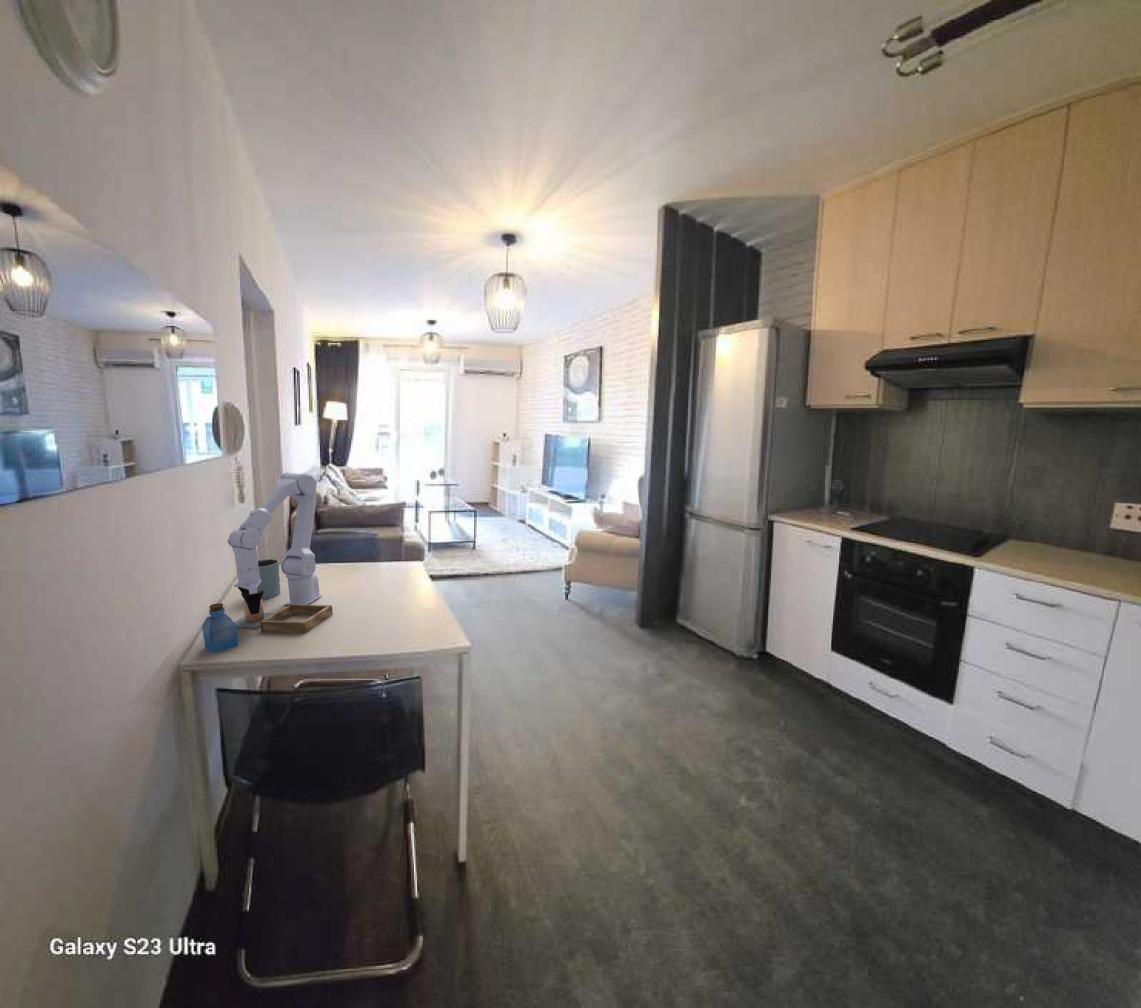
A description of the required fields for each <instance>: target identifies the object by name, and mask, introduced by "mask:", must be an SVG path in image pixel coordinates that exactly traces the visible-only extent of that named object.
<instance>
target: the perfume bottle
mask: <svg viewBox="0 0 1141 1008" xmlns="http://www.w3.org/2000/svg"><path fill="white" fill-rule="evenodd" d="M208 608H209V610H208V612H209V613H208V614H209V616H207V617H205V620H204V621H203V624H202V625H201V629H202V635H203V642H204V648H205V649H206V650H208V651H209V652H210V653H211V654H216V653H219V652H222V651H226V650H229V649H232V648H235V647H238V646H239V638H238V632H237V629H238V628H236V624H235V623H234V622H235V621H233V620H232V618H231V617H230V616H229V615H228V614H226V613H225V612H226V611H225V607H224V603H223V602H218V603H213V604H210V605H209V607H208Z"/></svg>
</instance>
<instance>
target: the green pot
mask: <svg viewBox="0 0 1141 1008" xmlns="http://www.w3.org/2000/svg"><path fill="white" fill-rule="evenodd" d="M258 565H259V573H260V579H261V583H260V584H259V586H258V588H257V591H261V590H263V591H264V593H263V595H262V598H261V599H262V600H267V599H271V598H272V599H273V598H274V597H278V596H279V595H280V594H281V584H280V582H281V581H280V580H281V579H280V577H281V576H280V561H279V560H278V559H276V558H266V559H265V558H264V559H258Z"/></svg>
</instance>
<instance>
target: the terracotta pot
mask: <svg viewBox="0 0 1141 1008" xmlns="http://www.w3.org/2000/svg"><path fill="white" fill-rule="evenodd" d="M242 604H243V612H244V613H243V614H244V616H245V622H257V621H260V620H263V619H264V613H265V609H264V601H263V599H261V602H260V610H259V613H257V614H252V615H251V613H250V611H249V608H248V605H247V603H246V601H245V600H244V601H243V602H242Z"/></svg>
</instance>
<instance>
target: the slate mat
mask: <svg viewBox="0 0 1141 1008" xmlns="http://www.w3.org/2000/svg"><path fill="white" fill-rule="evenodd" d="M274 613H275V612H264V619H266V618H267V617H269V616H271V615H273V614H274ZM264 619H263V620H264ZM260 621H262V620H260ZM260 621H257V622H245V615H244V616H242V617H240V618H239V619H237V620H235V621H233V622H234V623H235V624H236V629H242V630H243V629H246V630H247V629H248V630H250V629H251V630H257V629H259V628H261V627H260Z"/></svg>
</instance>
